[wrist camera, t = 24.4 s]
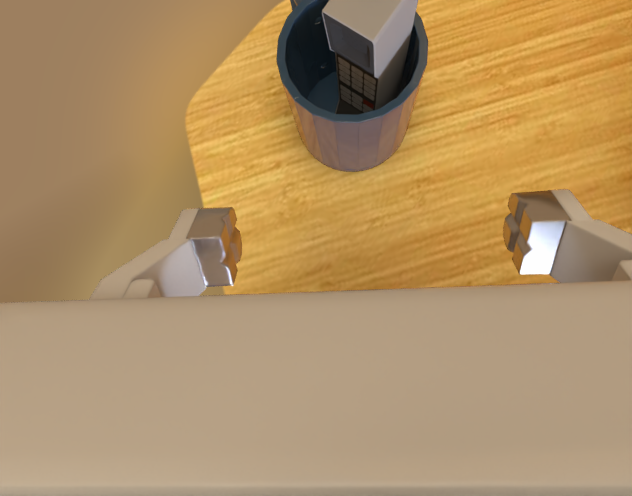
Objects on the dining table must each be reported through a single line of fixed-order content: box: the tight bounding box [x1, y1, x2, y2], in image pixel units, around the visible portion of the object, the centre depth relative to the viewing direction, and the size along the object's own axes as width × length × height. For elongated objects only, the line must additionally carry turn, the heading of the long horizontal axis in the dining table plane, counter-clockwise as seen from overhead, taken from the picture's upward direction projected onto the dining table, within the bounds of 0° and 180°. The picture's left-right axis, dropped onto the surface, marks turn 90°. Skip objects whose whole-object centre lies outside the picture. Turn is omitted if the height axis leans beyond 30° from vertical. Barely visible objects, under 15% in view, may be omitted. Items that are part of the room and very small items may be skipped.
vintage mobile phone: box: [322, 0, 418, 115], centre depth 30 cm, size 4×5×25 cm
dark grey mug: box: [277, 0, 428, 172], centre depth 38 cm, size 14×10×12 cm
